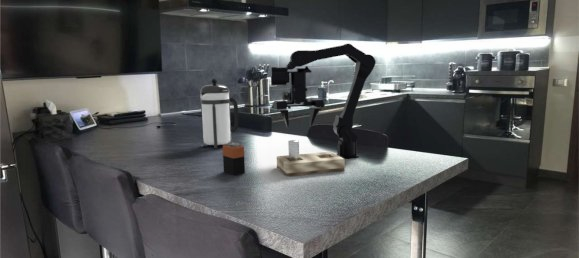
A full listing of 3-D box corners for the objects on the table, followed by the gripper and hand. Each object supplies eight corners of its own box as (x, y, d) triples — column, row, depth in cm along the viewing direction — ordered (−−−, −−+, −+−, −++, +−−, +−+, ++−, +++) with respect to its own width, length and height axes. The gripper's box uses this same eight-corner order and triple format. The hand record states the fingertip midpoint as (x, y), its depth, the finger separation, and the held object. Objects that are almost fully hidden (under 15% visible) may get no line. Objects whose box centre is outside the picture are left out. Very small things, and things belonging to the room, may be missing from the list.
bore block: (330, 162, 143) (330, 151, 142) (344, 170, 131) (344, 158, 131) (276, 167, 137) (276, 156, 136) (286, 176, 126) (286, 164, 125)
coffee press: (234, 149, 170) (231, 78, 165) (196, 149, 170) (192, 79, 165) (239, 141, 187) (237, 77, 182) (205, 142, 187) (202, 78, 183)
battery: (234, 175, 128) (233, 145, 126) (223, 171, 133) (221, 142, 131) (245, 173, 131) (244, 143, 129) (234, 169, 136) (232, 140, 134)
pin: (297, 165, 135) (296, 139, 133) (301, 168, 131) (300, 141, 130) (287, 166, 134) (286, 140, 132) (291, 169, 130) (290, 142, 129)
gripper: (314, 83, 157) (314, 122, 159) (268, 85, 151) (269, 125, 154) (325, 84, 146) (325, 126, 149) (276, 86, 141) (277, 129, 143)
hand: (299, 126), depth 149 cm, fingers open, 9 cm apart
